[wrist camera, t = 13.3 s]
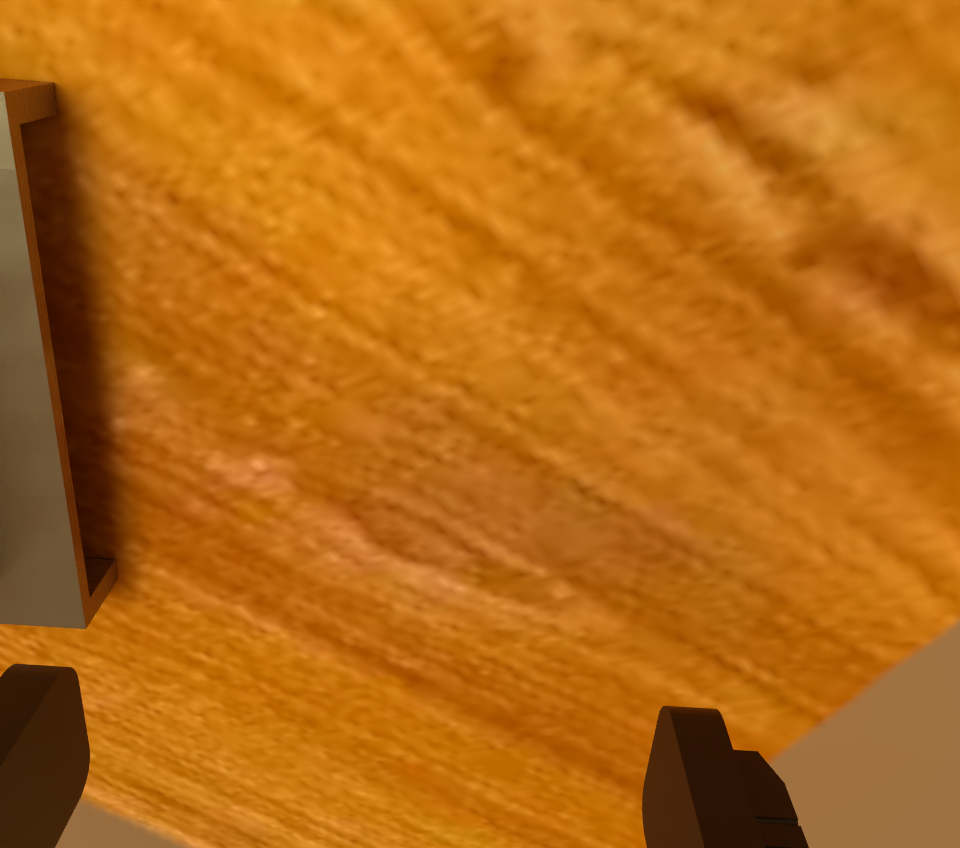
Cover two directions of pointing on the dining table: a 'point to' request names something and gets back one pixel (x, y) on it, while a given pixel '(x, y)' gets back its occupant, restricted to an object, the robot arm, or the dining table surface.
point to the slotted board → (34, 412)
